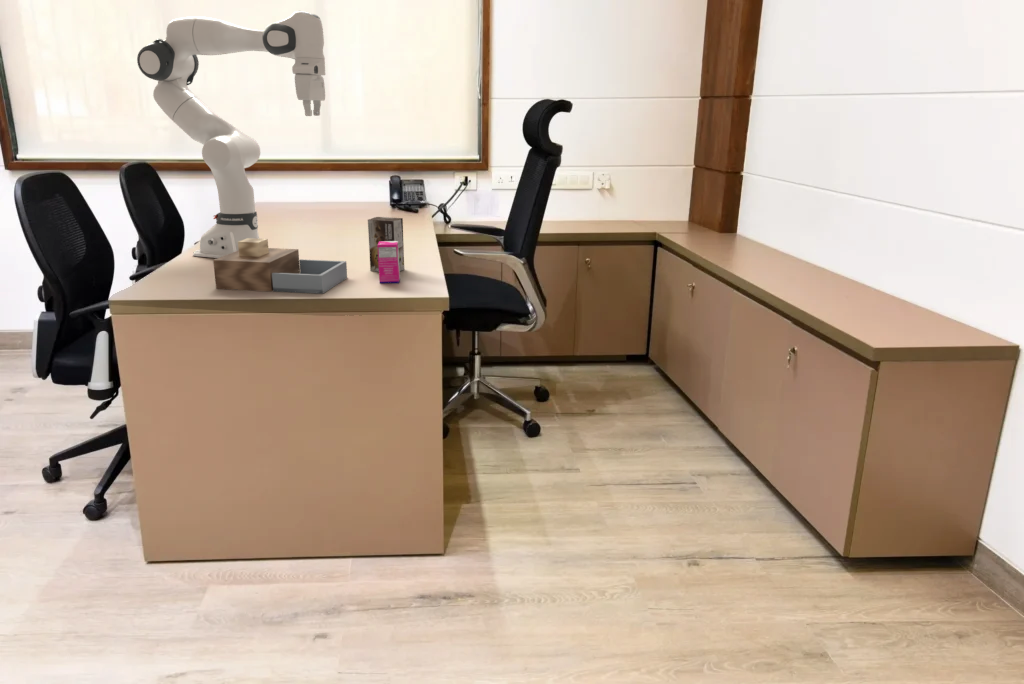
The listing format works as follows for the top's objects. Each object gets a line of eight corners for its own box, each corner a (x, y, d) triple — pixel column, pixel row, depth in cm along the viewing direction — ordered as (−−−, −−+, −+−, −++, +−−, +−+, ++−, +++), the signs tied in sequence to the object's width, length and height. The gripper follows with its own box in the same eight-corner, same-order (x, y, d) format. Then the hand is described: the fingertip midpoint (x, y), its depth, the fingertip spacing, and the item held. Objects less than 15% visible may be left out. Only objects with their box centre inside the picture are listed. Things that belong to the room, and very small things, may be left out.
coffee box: (405, 269, 235) (403, 217, 230) (395, 273, 229) (394, 220, 224) (379, 267, 237) (377, 216, 233) (369, 270, 232) (367, 218, 227)
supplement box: (380, 279, 221) (378, 240, 217) (400, 279, 221) (399, 240, 218) (378, 283, 215) (377, 244, 212) (399, 283, 216) (398, 244, 212)
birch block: (239, 255, 210) (237, 241, 209) (248, 251, 216) (247, 238, 214) (259, 256, 209) (258, 242, 208) (268, 252, 215) (267, 238, 214)
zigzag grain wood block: (216, 288, 206) (213, 260, 204) (249, 273, 225) (246, 247, 223) (271, 291, 204) (269, 262, 202) (300, 275, 223) (298, 249, 221)
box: (273, 291, 204) (271, 273, 203) (301, 275, 223) (300, 259, 222) (322, 293, 203) (321, 275, 201) (347, 277, 222) (346, 261, 220)
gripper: (309, 70, 239) (311, 115, 243) (290, 66, 220) (293, 116, 224) (329, 70, 239) (331, 115, 243) (311, 67, 220) (314, 116, 224)
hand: (312, 115), depth 233 cm, fingers open, 8 cm apart
